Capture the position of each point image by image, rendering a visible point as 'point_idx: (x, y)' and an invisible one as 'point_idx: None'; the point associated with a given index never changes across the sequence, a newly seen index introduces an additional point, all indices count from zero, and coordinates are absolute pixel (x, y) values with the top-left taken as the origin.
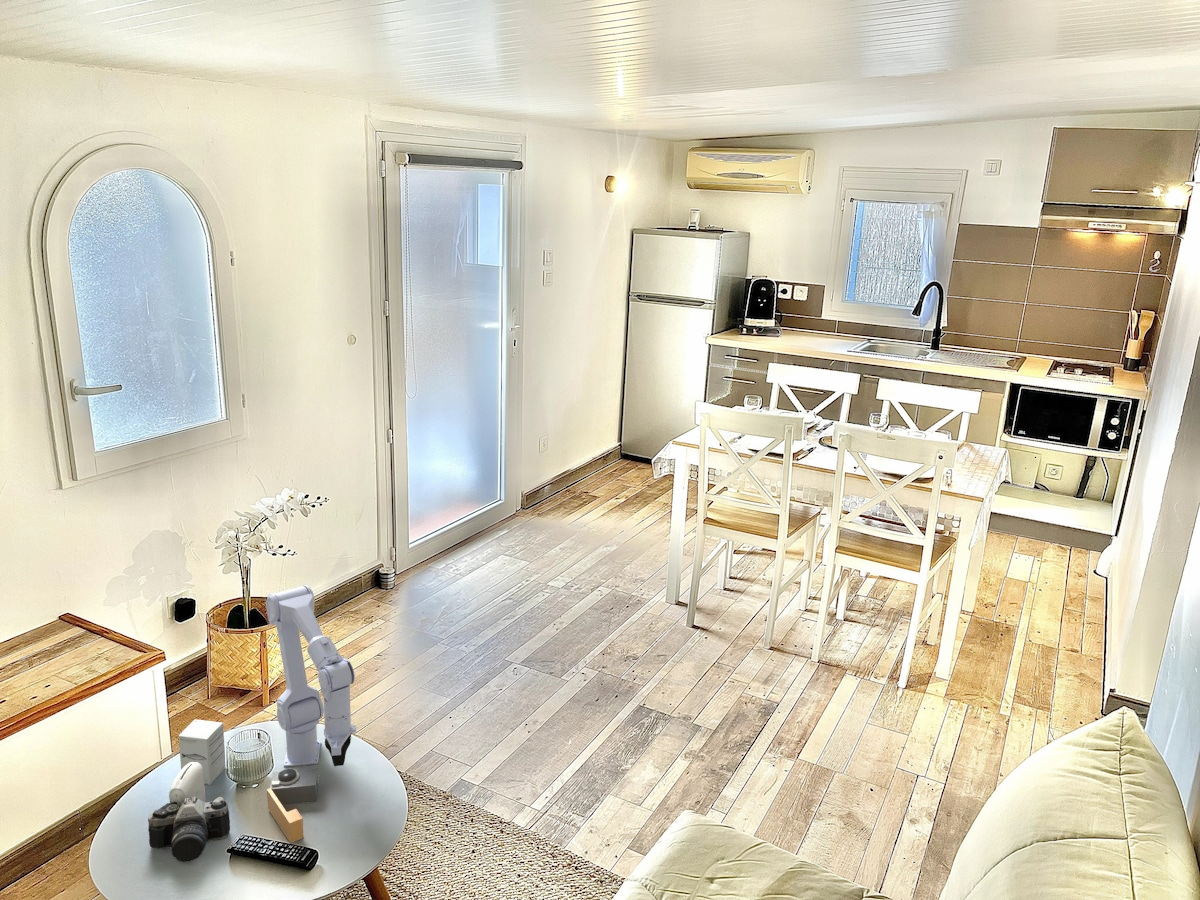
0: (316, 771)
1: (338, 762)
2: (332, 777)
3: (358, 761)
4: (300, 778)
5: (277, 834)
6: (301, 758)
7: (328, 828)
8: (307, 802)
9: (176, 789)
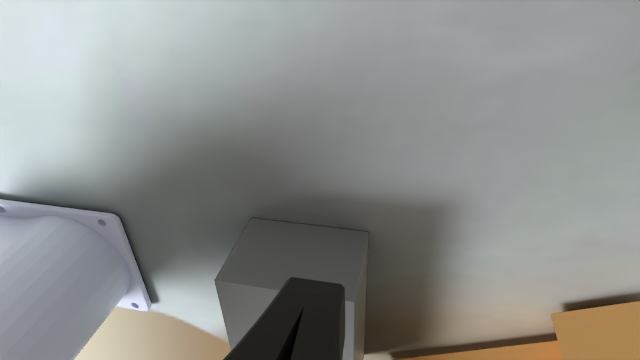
0: (238, 286)
1: (341, 348)
2: (198, 162)
3: (61, 40)
4: None
5: None
6: (114, 281)
7: (605, 195)
8: (367, 260)
9: None
